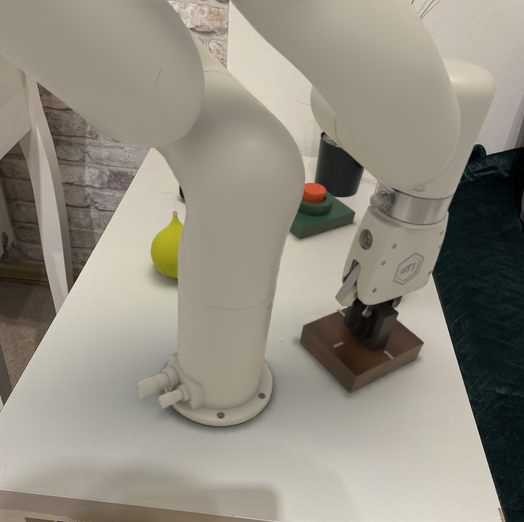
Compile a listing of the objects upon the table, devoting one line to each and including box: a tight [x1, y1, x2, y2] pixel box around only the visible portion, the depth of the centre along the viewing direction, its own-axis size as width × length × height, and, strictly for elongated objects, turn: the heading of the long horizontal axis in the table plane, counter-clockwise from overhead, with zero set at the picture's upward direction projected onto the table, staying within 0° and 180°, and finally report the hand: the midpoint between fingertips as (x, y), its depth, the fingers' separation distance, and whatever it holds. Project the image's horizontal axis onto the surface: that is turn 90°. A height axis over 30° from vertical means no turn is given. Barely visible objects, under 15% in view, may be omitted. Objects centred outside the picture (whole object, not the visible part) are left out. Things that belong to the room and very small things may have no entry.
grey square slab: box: [344, 301, 400, 351], centre depth 64 cm, size 6×2×6 cm, turn 31°
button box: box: [289, 190, 356, 240], centre depth 89 cm, size 12×10×4 cm
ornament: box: [150, 203, 184, 279], centre depth 72 cm, size 7×7×10 cm
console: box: [299, 306, 425, 394], centre depth 67 cm, size 12×10×3 cm
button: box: [302, 182, 327, 203], centre depth 88 cm, size 4×4×2 cm
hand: (365, 329), depth 66 cm, fingers closed on grey square slab, 2 cm apart
